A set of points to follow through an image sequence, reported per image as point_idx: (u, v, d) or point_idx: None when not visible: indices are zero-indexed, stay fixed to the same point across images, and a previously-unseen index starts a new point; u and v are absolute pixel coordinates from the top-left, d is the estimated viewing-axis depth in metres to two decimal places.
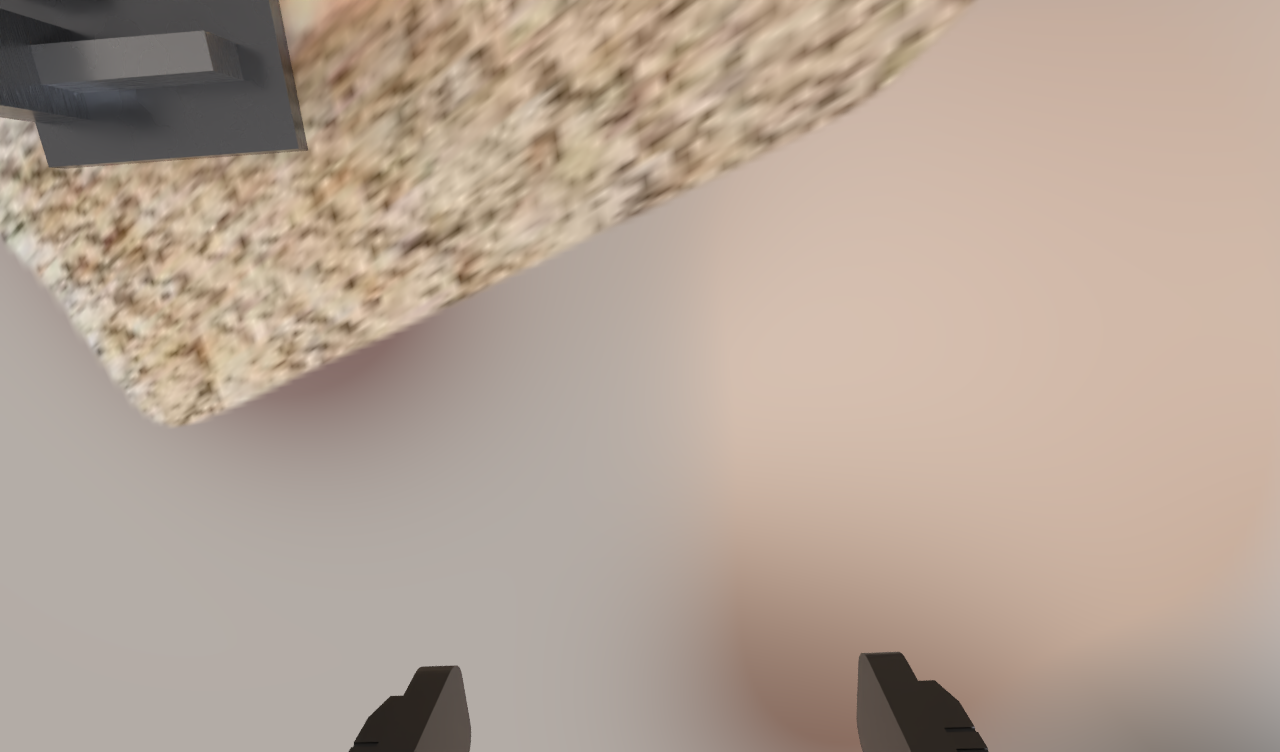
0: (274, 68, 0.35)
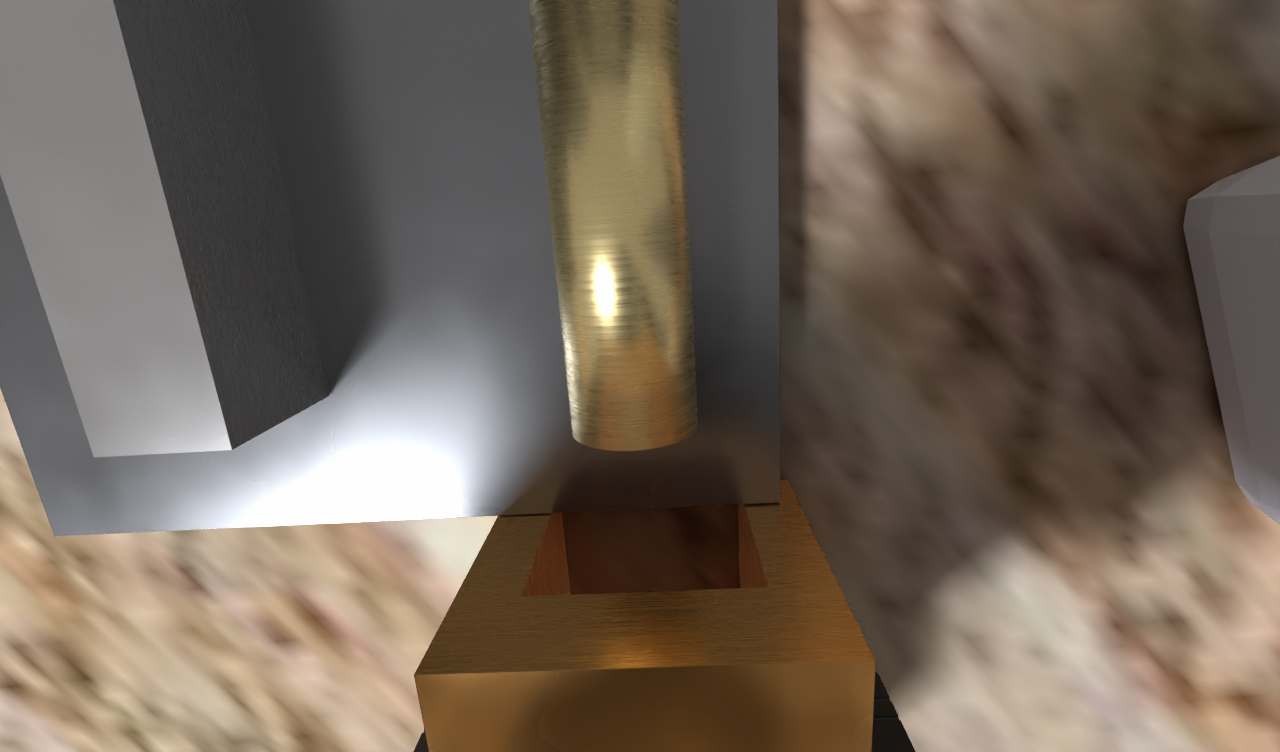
0: (272, 502, 0.11)
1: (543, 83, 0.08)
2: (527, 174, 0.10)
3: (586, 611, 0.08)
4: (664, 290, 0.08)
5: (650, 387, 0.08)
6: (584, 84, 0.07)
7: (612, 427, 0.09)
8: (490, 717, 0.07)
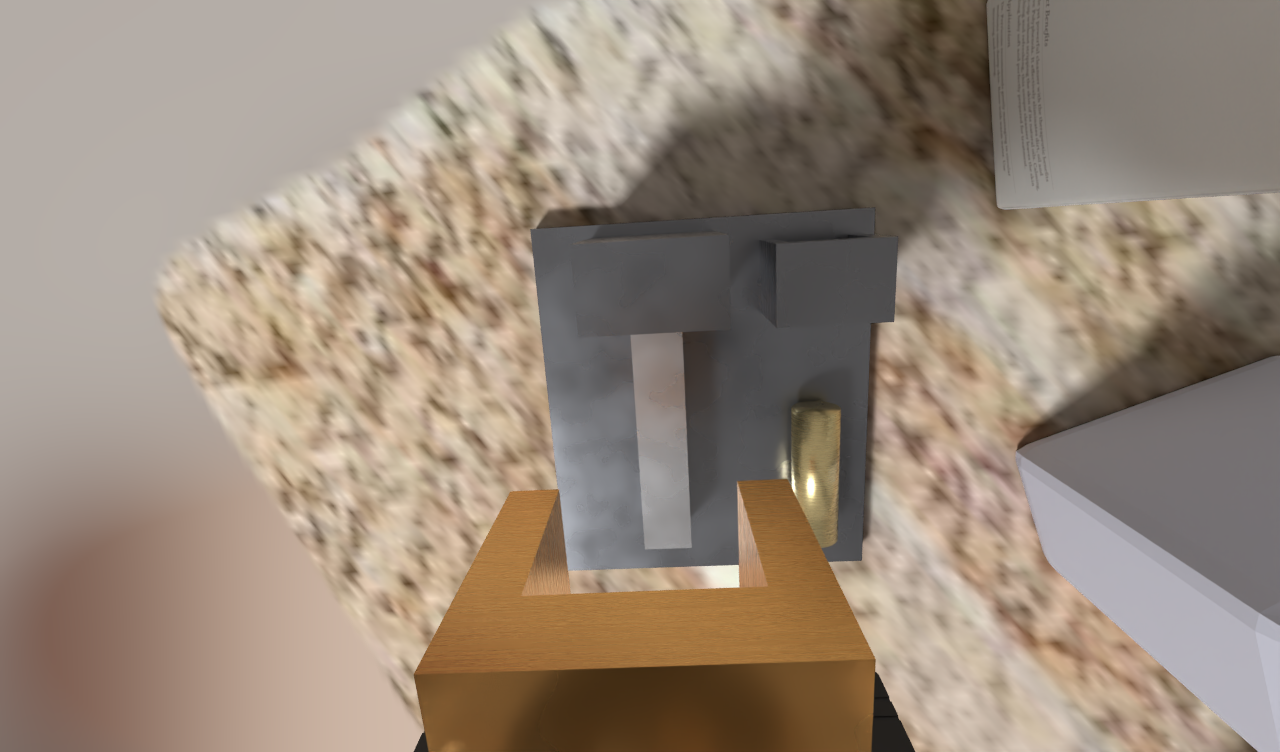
0: (659, 558, 0.28)
1: (798, 436, 0.25)
2: (775, 445, 0.27)
3: (586, 610, 0.08)
4: (833, 497, 0.25)
5: (827, 527, 0.25)
6: (815, 442, 0.24)
7: None
8: (490, 716, 0.07)
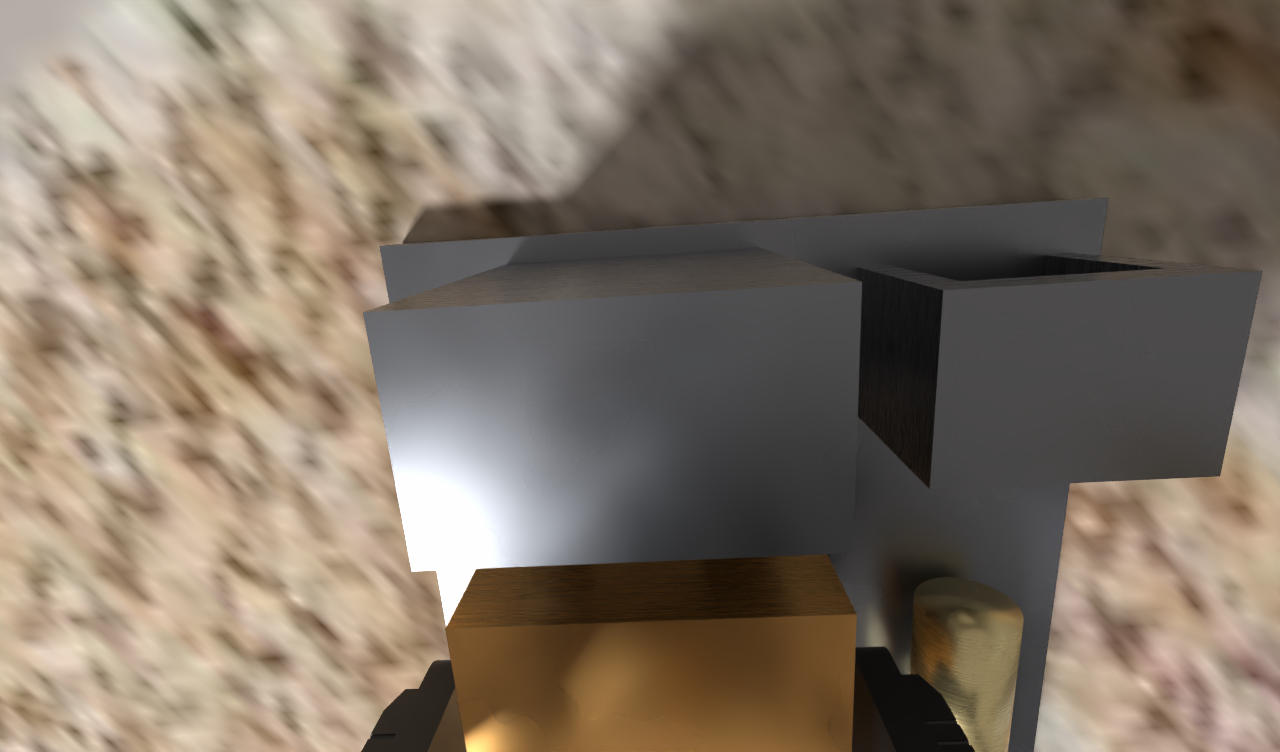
0: None
1: (935, 668, 0.12)
2: None
3: (597, 576, 0.09)
4: None
5: None
6: (973, 687, 0.12)
7: None
8: (513, 667, 0.08)
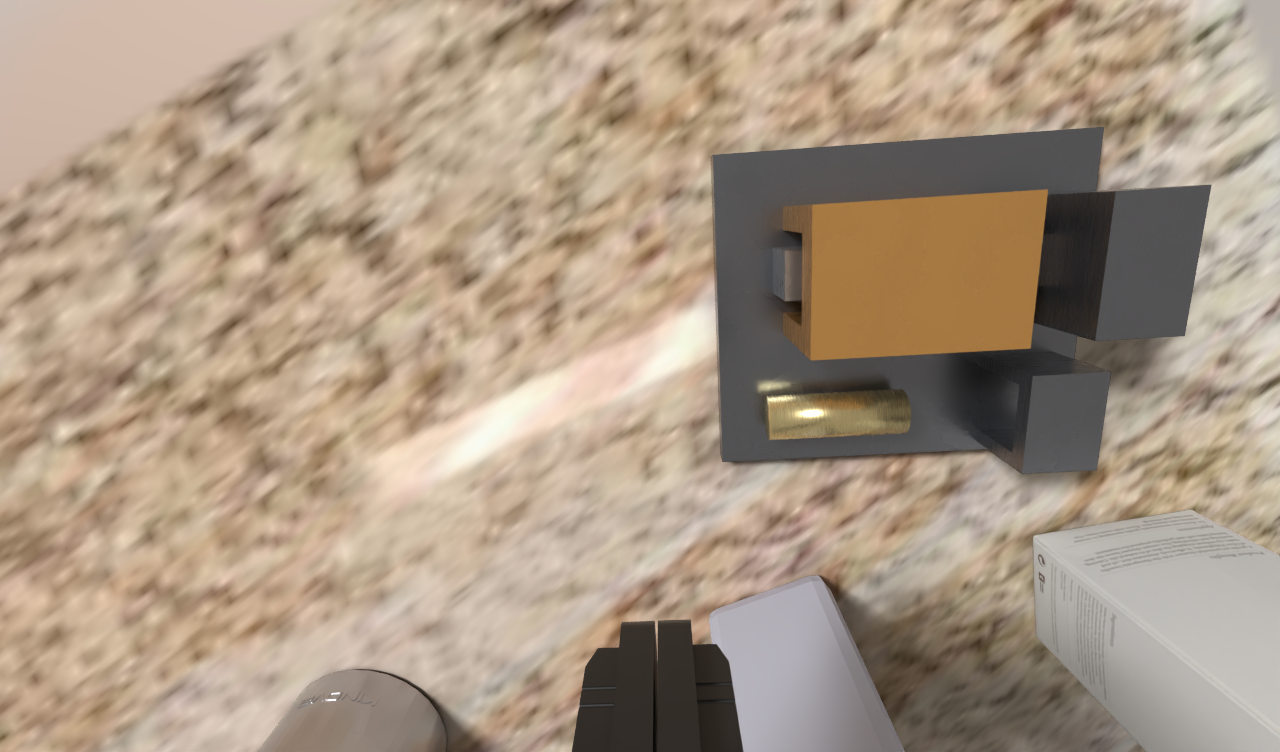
0: (727, 262, 0.26)
1: (884, 398, 0.26)
2: (850, 375, 0.27)
3: None
4: (821, 433, 0.26)
5: (792, 431, 0.26)
6: (883, 414, 0.26)
7: (779, 419, 0.26)
8: (1025, 216, 0.21)
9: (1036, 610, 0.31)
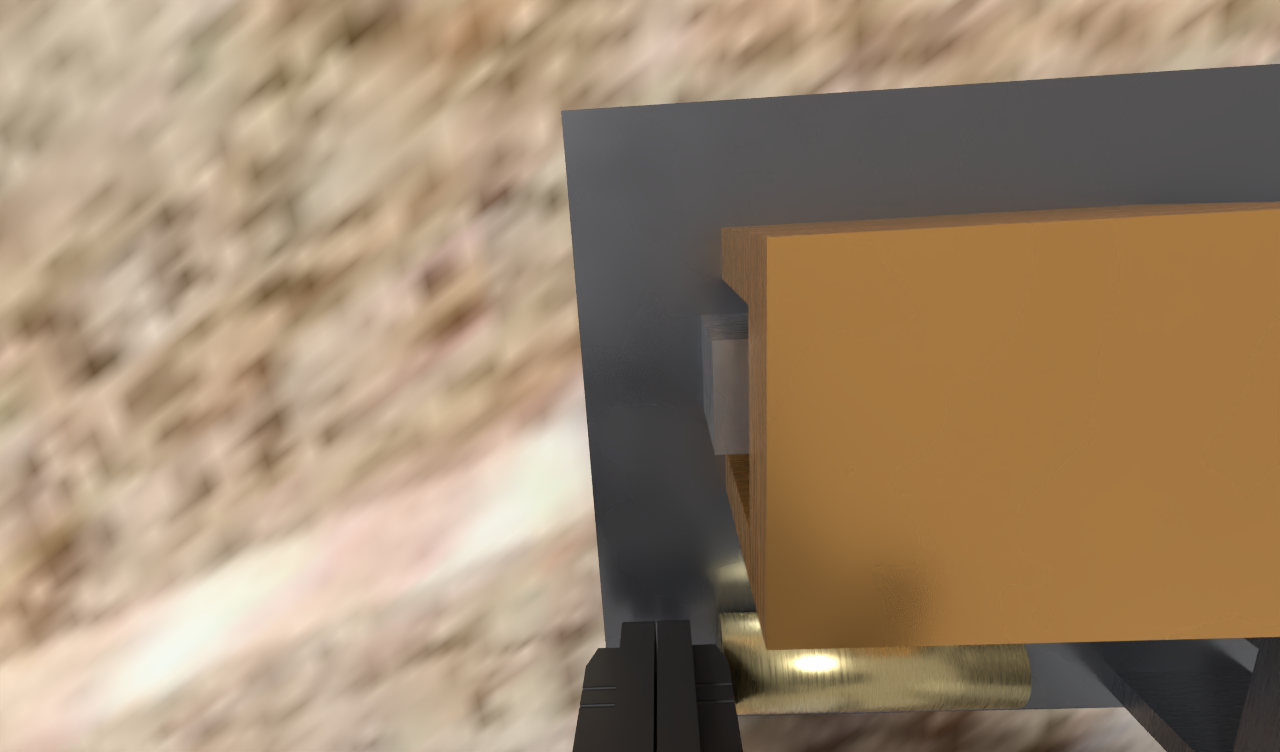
0: (604, 344, 0.12)
1: None
2: None
3: None
4: (835, 710, 0.12)
5: (773, 707, 0.12)
6: (971, 680, 0.12)
7: (744, 684, 0.12)
8: None
9: None
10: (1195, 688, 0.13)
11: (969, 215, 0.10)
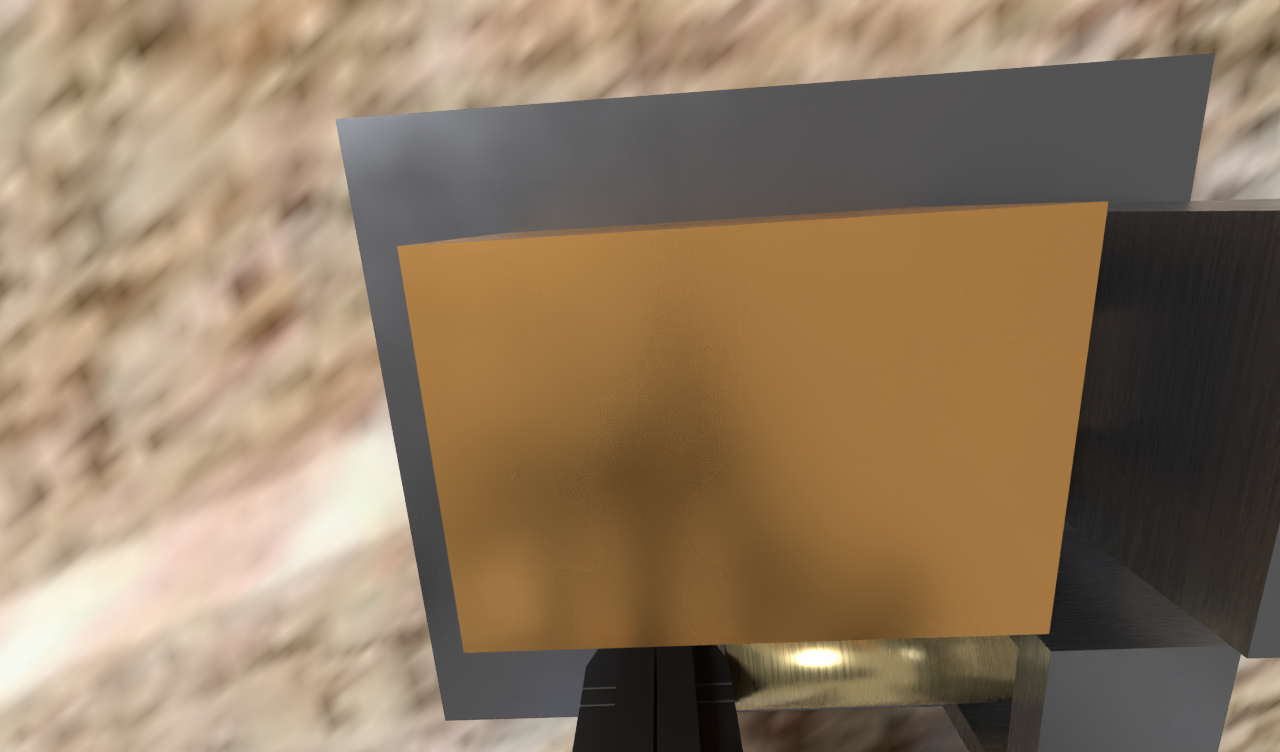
0: (400, 349, 0.12)
1: None
2: None
3: None
4: (837, 705, 0.12)
5: (775, 702, 0.12)
6: (975, 674, 0.12)
7: (746, 679, 0.12)
8: (1038, 284, 0.07)
9: None
10: None
11: (726, 219, 0.11)
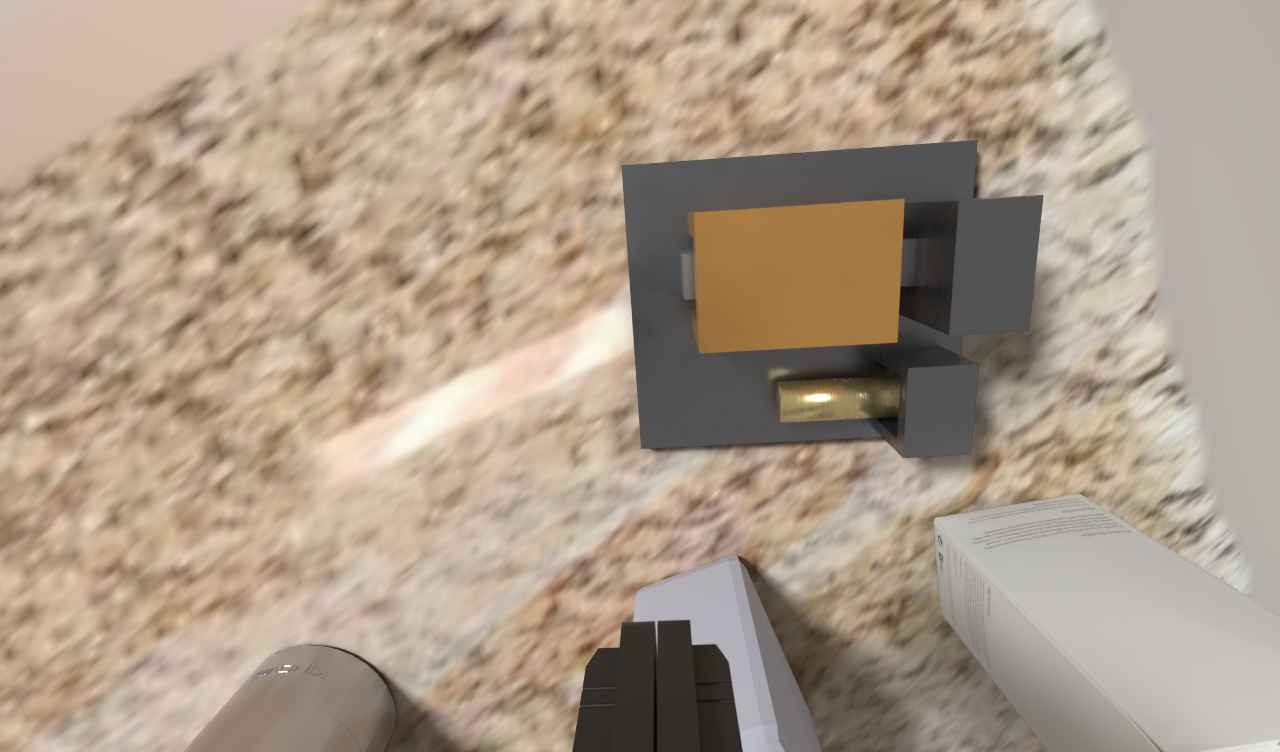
0: (638, 263, 0.29)
1: (887, 383, 0.28)
2: (755, 368, 0.30)
3: None
4: (829, 416, 0.28)
5: (802, 413, 0.28)
6: (886, 398, 0.28)
7: (790, 402, 0.28)
8: (886, 223, 0.23)
9: (939, 588, 0.33)
10: None
11: None
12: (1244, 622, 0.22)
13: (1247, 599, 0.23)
